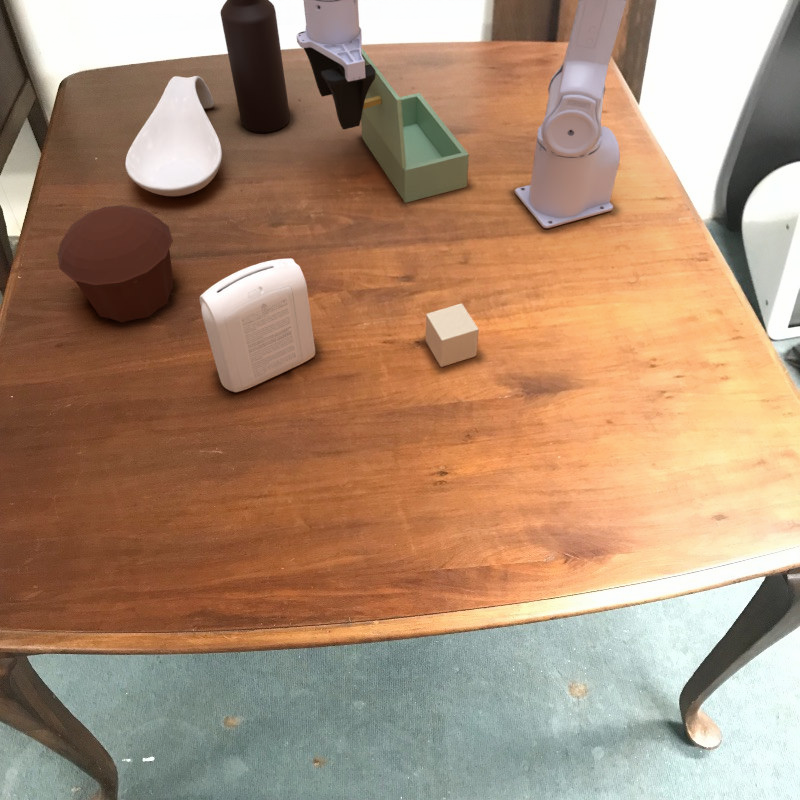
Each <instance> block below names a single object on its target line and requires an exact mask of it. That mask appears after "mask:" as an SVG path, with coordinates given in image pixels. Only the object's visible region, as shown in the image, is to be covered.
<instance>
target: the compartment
mask: <svg viewBox="0 0 800 800" xmlns="http://www.w3.org/2000/svg"><path fill="white" fill-rule="evenodd" d="M399 97H400V98H401V108H402V120H403V132H404V144H405V156H406V168H402V167H401V165H400V164H399V162H398V161H397V160H396V158H395V157H394V155H393V154H392V152H391V151H390V149H389V148H388V146H387V145H386V144H385V142H384V141H383V139H382V138H381V136H380V135H379V133H378V132H377V131H376V129H375V128H374V126H373V125H372V123H371V122H370V120H369V119H368V118H367V116H366V115H365V113H364V112H363V111H362V116H361V121H360V128H361V138H362V140H363V141H364V143H365V145H366V147H367V148H368V149H369V151H370V153H371V154H372V155H373V157H374V158H375V160H376V162H377V163H378V164H379V166H380V168H381V169H382V171H383V172H384V174H385V175H386V176H387V178H388V180H389V181H390V182H391V184H392V186H393V187H394V188H395V190H396V192H397V193H398V195H399V196H400V197H401V199H402V201H403V202H404V203H405V204H406V203H410V202H415V201H418V200H421V199H425V198H430V197H434V196H438V195H441V194H446V193H449V192H452V191H453V192H454V191H456V190H460V189H464V188H467V186H468V178H469V177H468V176H469V175H468V174H469V160H470V159H469V158H470V154H469V152H468V151H467V150H466V148H464V146H463V145H462V144H461V142H459V140H458V139H457V138H456V136H455V135H454V134H453V132H452V131H451V130H450V129H449V127H448V126H447V125H446V124H445V122H444V121H443V120H442V119H441V118H440V116H439V115H438V114H437V113H436V111H435V110H434V109H433V107H432V106H431V105H430V104H429V103H428V101H427V99H425V98H424V96H423V95H422V94H421V92H417V93H411V94H408V95H402V96H399Z"/></svg>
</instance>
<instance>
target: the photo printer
mask: <svg viewBox="0 0 800 800" xmlns="http://www.w3.org/2000/svg"><path fill="white" fill-rule="evenodd" d="M199 303H200V307H201V309H200V311H201V317H202V320H203V324H204V327H205V331H206V333H207V338H208V341H209V346H210V349H211V352H212V356H213V359H214V363H215V367H216V370H217V373H218V377H219V381H220V383H221V385H222V386H223V388H225V389H226V390H228V391H230V392H233V393H239V392H242V391H246V390H248V389H251V388H252V387H256V386H257V385H260V384H262V383H264V382H266V381H268V380H271V379H272V378H275V377H276V376H279V375H281V374H284V373H285V372H288V371H290V370H291V369H294V368H297V367H298V366H300V365H302V364H304V363H306V362H308V361H309V360H311V359H312V358H314V357H315V355H316V346H315V339H314V332H313V324H312V315H311V307H310V300H309V292H308V285H307V281H306V278H305V275H304V273H303V271H302V268H301V266H300V265H299V264H297V263H296V261H295V260H294V259H293V258H290V257H289V258H277V259H272V260H267V261H262V262H259V263H256V264H253V265H250V266H247V267H245V268H243V269H240V270H237V271H236V272H234V273H232V274H230V275H228V276H226V277H224V278H222V279H220V280H219V281H218V282H216V283H214V284H213V285H212V286H210V287H209V288H207V289H206V290H205V291H204V292H203V293H202V294H201V295H199Z"/></svg>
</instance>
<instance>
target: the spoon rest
mask: <svg viewBox="0 0 800 800" xmlns="http://www.w3.org/2000/svg"><path fill="white" fill-rule="evenodd" d="M213 107H215V101H214V97H213V95H212V93H211V90H210V89H209V86H208V85H207V84H206V82H205V81H204V79H203V78H202V77H201V76H199V75H194V76H190V77H183V76H178V75H175V76H173V77H171V79H169V81H168V83H167V84H166V87H165V89H164V91H163V93H162V95H161V97H160V99H159V101H158V102H157V104H156V105H155V108H154V109H153V111H152V112H151V114H150V116H149V117H148V118H147V120H146V121H145V123H144V124H143V126H142V127H141V129H140V130H139V132H138V133H137V135H136V136H135V138H134V140H133V142H132V144H131V145H130V147H129V148H128V151H127V154H126V157H125V170H126V173H127V175H128V177H129V178H130V179H131V180H132V181H133V182H134V183H135V184H136V185H138V186H139V187H140V188H142V189H143V190H146V191H147V192H150V193H152V194H155V195H158V196H159V195H160V196H165V197H182V196H187V195H190V194H194V193H195V192H198V191H200V190H202V189H203V188H205V187H206V186H208V185H209V184H210V183H211V182H212V180H214V178H215V176H216V175H217V173H218V172H219V169H220V167H221V163H222V160H223V159H222V158H223V150H222V145H221V142H220V138H219V137H218V135H217V132H216V130H215V128H214V126H213V124H212V122H211V121H210V118H209V116H208V114H207V113H206V111H205V110H206V109H211V108H213Z"/></svg>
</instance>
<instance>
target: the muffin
mask: <svg viewBox="0 0 800 800" xmlns="http://www.w3.org/2000/svg"><path fill="white" fill-rule="evenodd" d="M173 242H174V241H173V237H172V233H171V229H170V226H169V225H167V223H164V222H163V220H161V219H160V218H159V217H157V216H155V214H153V213H151V212H150V211H148V210H146V209H144V208H142V207H136V206H131V205H125V204H123V205H122V204H119V205H112V206H104V207H101V208H98V209H95V210H92V211H89V212H87V213H86V214H84V216H81V217H80V218H79V219H78V220H76V221H75V222H73V223H72V224H71V225H70V227H69V229H68V230H67V232H66V233H65V234H64V237H63V238H62V239H61V241H60V244H59V248H58V252H57V260H58V261H57V262H58V267H59V270H60V271H61V272H62V273H63V274H65V276H67V277H68V278H70V279H71V280H72V281H74V282H75V283H76V284H77V286H78V288H79V289H80V290H81V292H82V293H83V294H84V297H86V299H87V300H88V302H89V304H91V306H92V307H93V310H95V312H96V313H97V314H98V316H99V317H101V318H105V319H111V320H113V321H116V322H119V323H126V322H131V321H135V320H140V319H148V318H149V317H151V316H152V315H153V314H154V313H156V312H157V311H158V310H159V309H161V308H163V307H164V306H166V305H167V304H169V299H170V295H171V292H172V290H173V288H174V279H173V269H172V262H171V252H170V249H171V246H172V244H173Z"/></svg>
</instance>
